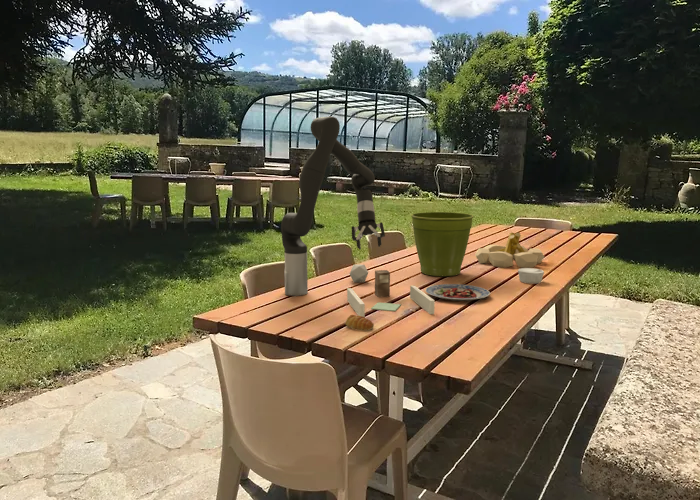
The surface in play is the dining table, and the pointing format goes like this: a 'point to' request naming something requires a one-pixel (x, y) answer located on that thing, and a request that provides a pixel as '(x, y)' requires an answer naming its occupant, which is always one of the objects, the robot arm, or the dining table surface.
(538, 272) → the ramekin
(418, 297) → the arena
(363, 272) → the die
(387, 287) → the walnut block
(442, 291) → the ceramic plate
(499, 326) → the dining table surface
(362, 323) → the pastry
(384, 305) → the pad
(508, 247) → the campfire
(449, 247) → the plant pot
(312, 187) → the robot arm
